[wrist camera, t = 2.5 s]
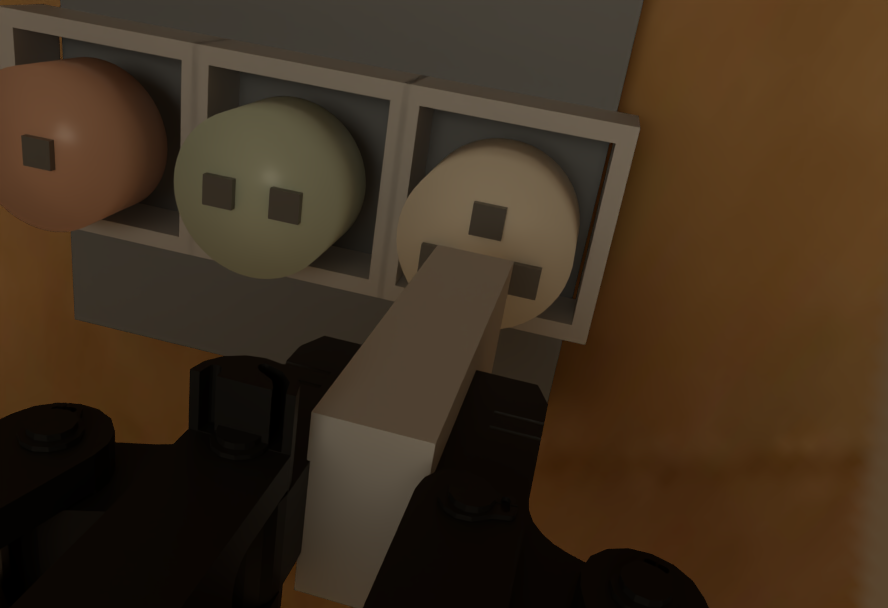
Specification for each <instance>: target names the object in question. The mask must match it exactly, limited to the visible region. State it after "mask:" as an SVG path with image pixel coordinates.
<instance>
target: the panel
mask: <svg viewBox="0 0 888 608" xmlns="http://www.w3.org/2000/svg"><path fill="white" fill-rule="evenodd" d="M60 3H61V7H55V6H50V5H45V4H33V5H2V6H0V70H1V69H3V68H6V67H11V66H16V65H23V64H31V63H38V62H46V61H53V60H60V44H59V36H60V37H62V47H63V59H69V58H76V57H91V58H98V59H101V60H105V61H108V62H110V63H112V64H115V65H117V66H118V67H120V68H122V69H124V70H125V71H126V72H128V73H129V74H130V75H132V76H133V77H134V78H135V79H136V80H137V81H138V82H139V83H140V84H141V85H142V86H143V87H144V88H145V90H146V91H147V92H148V94H149V95H150V96H151V98H152V99H153V101H154V103H155V105H156V107H157V108H158V110H159V113H160V115H161V118H162V120H163V124H164V127H165V131H166V137H167V148H168V151H167V162H166V166H165V170H164V173H163V176H162V178H161V180H160V182H159V184H158V185H157V187H156V188H155V189H154V191H153V192H152V193H151V194H150V195H149V196H148V197H147V198H145V199H144V200H142V201H141V202H139V203H137V204H135V205H132V206H130V207H128V208H126V209H124V210H121V211H119V212H117V213H115V214H112V215H110V216H108V217H106V218H104V219H101V220H99V221H97V222H95V223H92V224H90V225H88V226H86V227H84V228H81V229H78V230H75V231H71V245H72V267H73V289H74V311H75V319H76V320H80V321H84V322H88V323H93V324H97V325H101V326H105V327H109V328H113V329H117V330H121V331H125V332H129V333H134V334H138V335H142V336H146V337H150V338H154V339H158V340H162V341H166V342H170V343H174V344H179V345H183V346H187V347H191V348H195V349H199V350H203V351H207V352H211V353H215V354H219V355H224V356H238V355H248V356H255V357H262V358H267V359H270V360H273V361H275V362H278V363H281V364H286V361H287V359H288V358H289V357H290V356H291V355H292V354H293V353H294V352H295V351H296V350H297V349H298V348H299V347H300V346H301V345H303V344H306V343H308V342H310V341H313V340H315V339H317V338H320V337H322V336H328V337H332V338H337V339H341V340H345V341H349V342H353V343H357V344H361V345H362V344H363V343H364V342H365V341H366V339H367V338H368V337H369V335H370V334H371V333H372V331H373V330H374V329H375V327H376V326H377V325H378V323H379V322H380V321H381V319H382V318H383V317H384V315H385V314H386V313H387V311H388V310H389V309H390V307H391V306H392V305H393V303H394V302H395V301H396V300H397V298H398V297H399V296H400V294H401V293H402V292H403V290H404V289H405V288H406V286H407V285H408V284H409V283H408V282H407V280H406V277H405V275H404V273H403V271H402V268H401V265H400V262H399V258H398V253H397V242H396V237H397V226H398V221H399V217H400V214H401V211H402V208H403V206H404V204H405V202H406V200H407V198H408V197H409V195H410V194H411V192H412V191H413V189H414V188H415V187H416V186H417V185H418V184H419V183H420V182H421V181H422V180H423V179H424V178H425V177H426V176H427V175H428V174H429V173H430V172H431V171H432V170H433V169H434V168H435V167H436V166H437V165H438V164H439V163H440V162H441V161H442V160H443V159H444V158H445V157H447V156H448V155H449V154H450V153H451V152H453V151H455V150H456V149H458V148H460V147H461V146H464V145H466V144H468V143H471V142H474V141H478V140H482V139H490V138H505V139H513V140H517V141H520V142H524V143H526V144H529V145H531V146H534V147H536V148H537V149H539V150H541V151H543V152H544V153H545V154H547V155H548V156H549V157H551V158H552V159H553V160H554V161H555V162H556V163H557V164H558V165H559V166H560V167H561V168H562V170H563V171H564V172H565V174H566V175H567V177H568V178H569V180H570V182H571V184H572V186H573V188H574V191H575V193H576V196H577V200H578V204H579V212H580V226H579V232H578V238H577V244H576V250H575V256H574V262H573V267H572V270H571V273H570V276H569V279H568V281H567V283H566V285H565V287H564V289H563V290H562V292H561V293H560V295H559V296H558V298H557V299H556V300H555V301H554V302H553V303H552V304H551V305H550V306H549V307H548V308H547V309H546V310H545V311H544V312H542V313H541V314H539V315H538V316H536V317H535V318H533V319H531V320H529V321H527V322H525V323H522V324H519V325H517V326H514V327H509V328H504V329H500V334H499V339H498V344H497V348H496V353H495V358H494V363H493V368H492V373H491V374H495V375H499V376H503V377H507V378H511V379H515V380H520V381H524V382H528V383H532V384H536V385H538V386H539V388H540V390H541V392H542V394H543V396H544V398H545V400H546V402H547V403H548V398H549V394H550V390H551V386H552V382H553V377H554V373H555V369H556V365H557V361H558V357H559V352H560V348H561V344H562V340H566V341H570V342H575V343H579V344H584V345H585V344H586V340H587V337H588V333H589V329H590V325H591V321H592V317H593V313H594V309H595V305H596V301H597V297H598V293H599V289H600V285H601V281H602V277H603V273H604V269H605V265H606V261H607V257H608V253H609V249H610V246H611V242H612V238H613V234H614V230H615V226H616V222H617V218H618V214H619V210H620V206H621V202H622V198H623V194H624V190H625V186H626V182H627V178H628V174H629V170H630V166H631V162H632V158H633V155H634V151H635V147H636V143H637V139H638V135H639V131H640V122H639V116H637V115H632V114H627V113H621V112H617V109H618V105H619V101H620V97H621V93H622V88H623V84H624V80H625V76H626V72H627V67H628V63H629V59H630V55H631V51H632V46H633V42H634V38H635V34H636V30H637V25H638V21H639V17H640V13H641V9H642V5H643V0H60ZM276 96H290V97H298V98H301V99H305V100H308V101H311V102H313V103H315V104H317V105H319V106H321V107H323V108H324V109H326V110H327V111H329V112H330V113H331V114H333V115H334V116H335V117H336V118H337V119H338V120H339V121H340V122H341V123H342V124H343V125H344V126H345V127H346V129H347V130H348V131H349V132H350V134H351V136H352V137H353V139H354V140H355V142H356V144H357V146H358V148H359V151H360V153H361V156H362V159H363V163H364V168H365V176H366V189H365V196H364V201H363V205H362V208H361V211H360V213H359V215H358V217H357V219H356V220H355V222H354V223H353V225H352V226H351V227H350V228H349V229H348V231H347V232H346V233H345V234H344V235H342V236H341V237H340V238H339V239H338V240H337V241H336V242H335V243H334V244H332V245H331V246H330V247H329V248H328V249H327V250H326V251H325V252H324V253H322V254H321V255H320V256H319V257H318V258H317V259H316V260H315V261H313V262H312V263H311V264H310V265H308V266H307V267H306V268H304V269H302V270H301V271H299V272H297V273H294V274H292V275H290V276H286V277H282V278H275V279H258V278H252V277H248V276H244V275H241V274H238V273H236V272H233V271H231V270H229V269H227V268H225V267H224V266H222V265H220V264H219V263H217V262H216V261H215V260H213V259H212V258H211V257H210V256H208V255H207V254H206V253H205V252H204V251H203V250H202V249H201V248H200V247H199V245H198V244H197V243H196V242H195V241H194V239H193V238H192V236H191V235H190V234H189V232H188V230H187V228H186V227H185V225H184V223H183V221H182V218H181V216H180V213H179V210H178V207H177V203H176V199H175V193H174V170H175V165H176V160H177V157H178V154H179V151H180V149H181V147H182V145H183V143H184V141H185V140H186V138H187V137H188V136H189V134H190V133H191V132H192V131H193V130H194V129H195V128H196V127H197V126H198V125H199V124H200V123H202V122H203V121H205V120H206V119H208V118H210V117H212V116H214V115H216V114H219V113H222V112H225V111H228V110H231V109H234V108H237V107H240V106H244V105H247V104H250V103H253V102H256V101H259V100H262V99H265V98H270V97H276ZM609 143H613V146H612V150H611V154H610V158H609V162H608V167H607V171H606V175H605V179H604V183H603V187H602V191H601V196H600V200H599V204H598V208H597V212H596V216H595V221H594V225H593V229H592V233H591V237H590V241H589V246H588V250H587V254H586V258H585V262H584V266H583V270H582V275H581V279H580V283H579V287H578V291H577V295H576V299H572V298H573V294H574V289H575V285H576V281H577V277H578V273H579V269H580V264H581V260H582V256H583V252H584V248H585V243H586V239H587V235H588V231H589V227H590V222H591V218H592V214H593V210H594V206H595V201H596V197H597V193H598V189H599V185H600V181H601V176H602V172H603V168H604V164H605V160H606V155H607V151H608V147H609ZM12 215H13V214H12Z"/></svg>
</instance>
